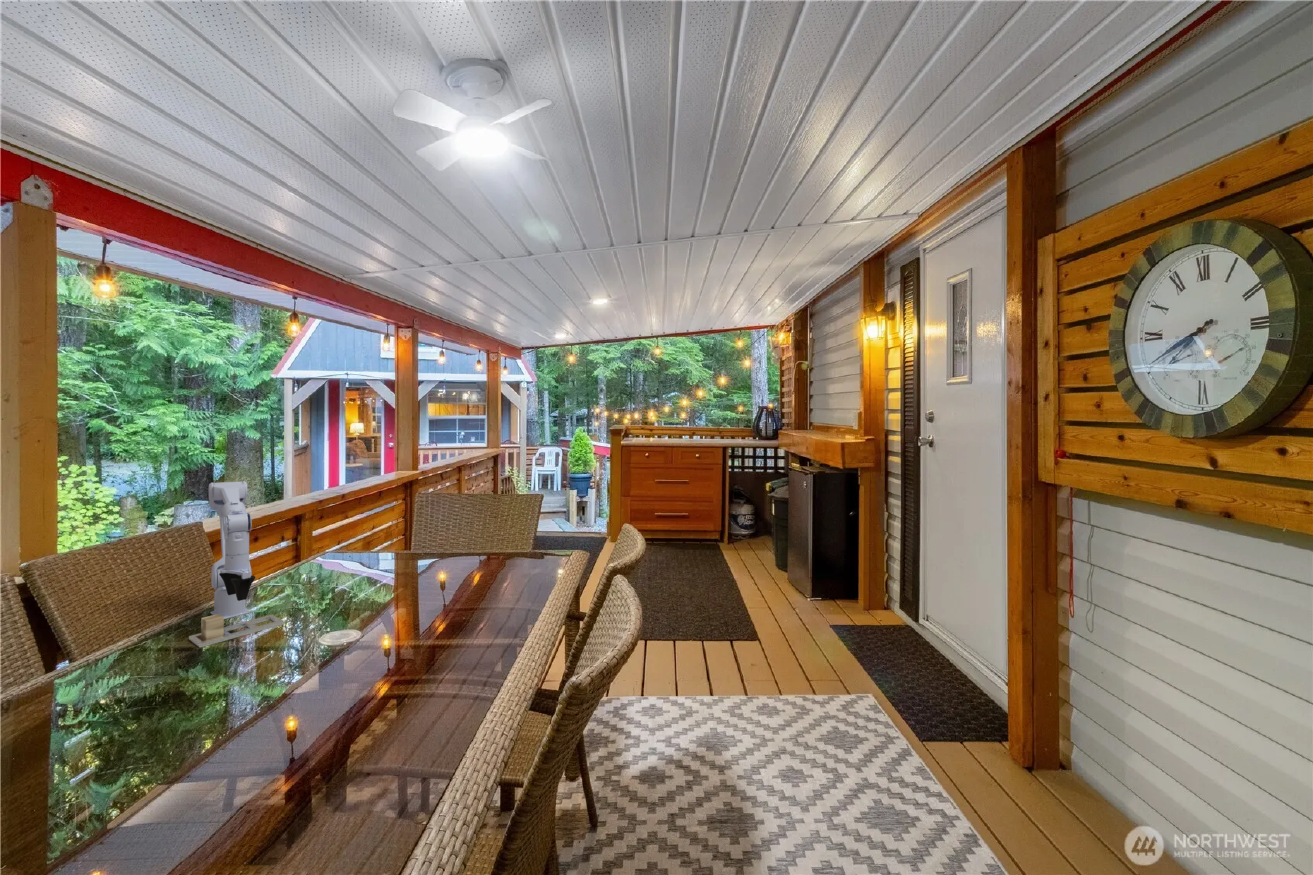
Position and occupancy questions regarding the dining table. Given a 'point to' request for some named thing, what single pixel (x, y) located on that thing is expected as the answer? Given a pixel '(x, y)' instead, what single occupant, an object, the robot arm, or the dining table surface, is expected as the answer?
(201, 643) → the white rectangular slotted frame
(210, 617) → the block
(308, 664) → the dining table surface
